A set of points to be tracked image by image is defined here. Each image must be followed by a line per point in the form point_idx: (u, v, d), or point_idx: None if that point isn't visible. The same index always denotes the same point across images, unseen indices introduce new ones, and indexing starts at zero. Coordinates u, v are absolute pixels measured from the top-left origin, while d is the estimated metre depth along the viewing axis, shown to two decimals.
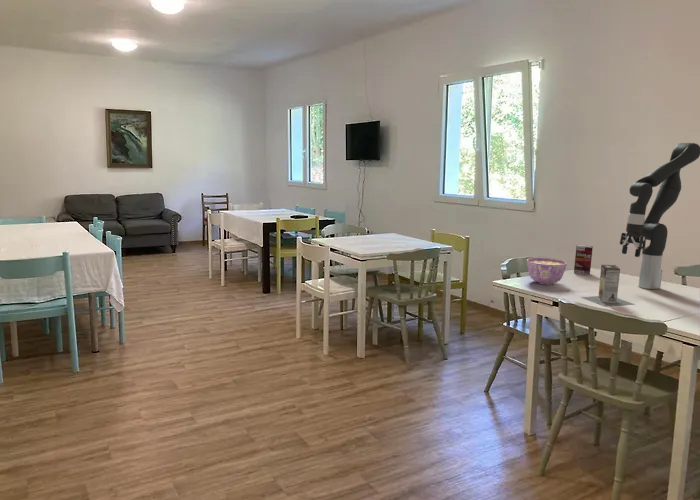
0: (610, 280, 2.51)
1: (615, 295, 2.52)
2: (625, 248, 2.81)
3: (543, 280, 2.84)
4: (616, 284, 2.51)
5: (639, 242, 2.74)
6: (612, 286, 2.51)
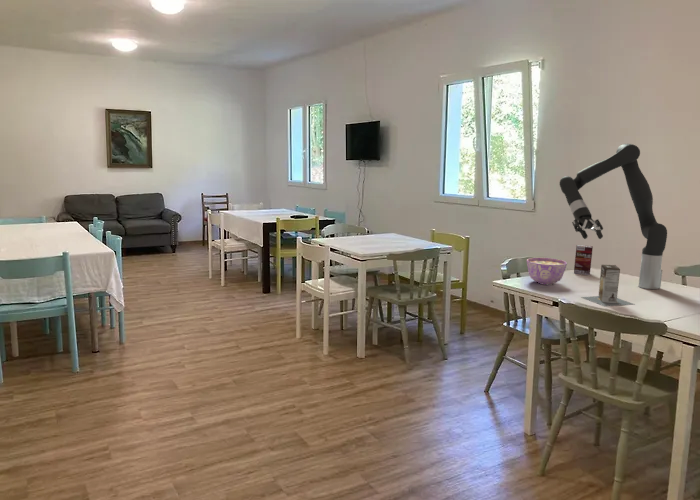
0: (610, 280, 2.51)
1: (615, 295, 2.52)
2: (598, 233, 2.68)
3: (543, 280, 2.84)
4: (616, 284, 2.51)
5: None
6: (612, 286, 2.51)
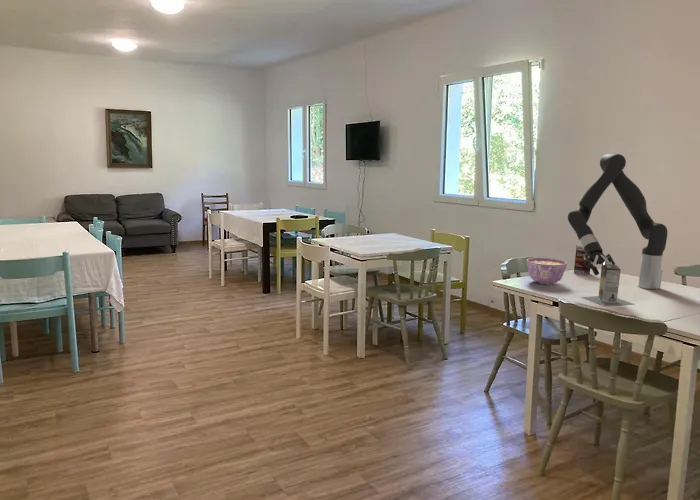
0: (610, 280, 2.50)
1: (615, 295, 2.52)
2: None
3: (543, 280, 2.84)
4: (616, 284, 2.50)
5: None
6: (612, 287, 2.51)
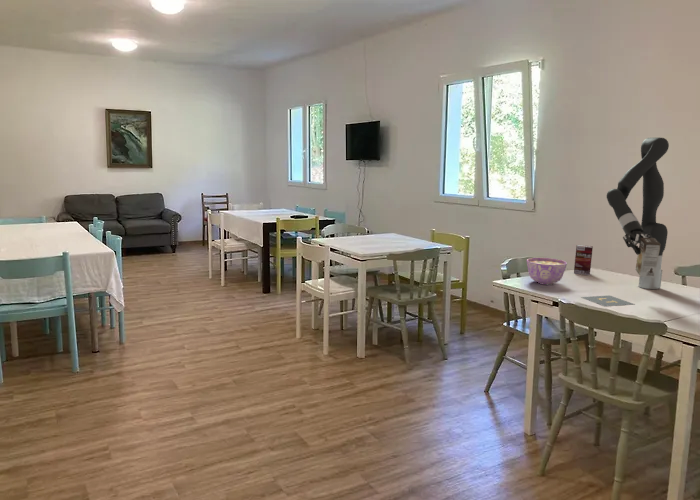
0: (649, 255, 2.48)
1: (654, 270, 2.50)
2: None
3: (543, 280, 2.84)
4: (655, 259, 2.48)
5: (635, 239, 2.56)
6: (651, 261, 2.49)
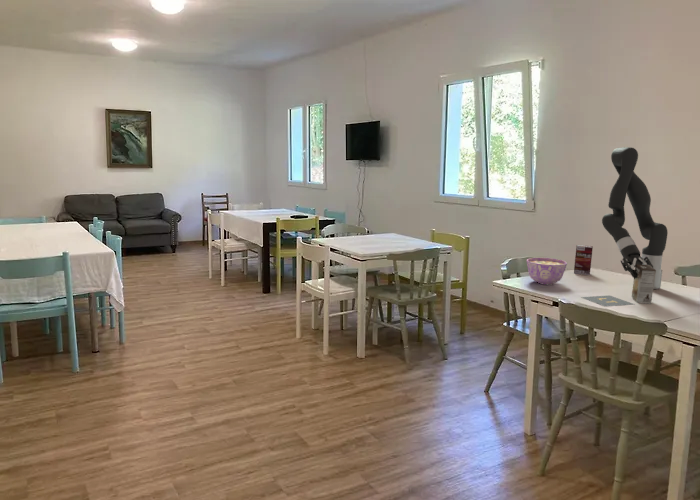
0: (645, 281, 2.51)
1: (650, 296, 2.52)
2: None
3: (543, 280, 2.84)
4: (651, 285, 2.51)
5: None
6: (647, 287, 2.51)
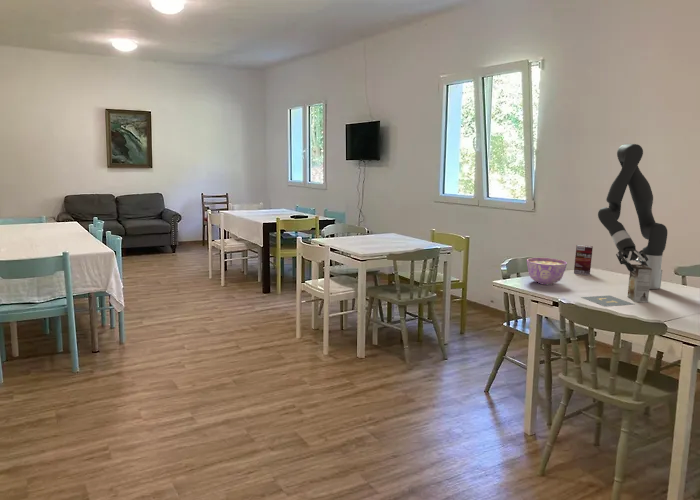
0: (642, 279, 2.53)
1: (647, 294, 2.55)
2: (643, 264, 2.62)
3: (543, 280, 2.84)
4: (648, 283, 2.54)
5: (628, 256, 2.61)
6: (644, 286, 2.54)
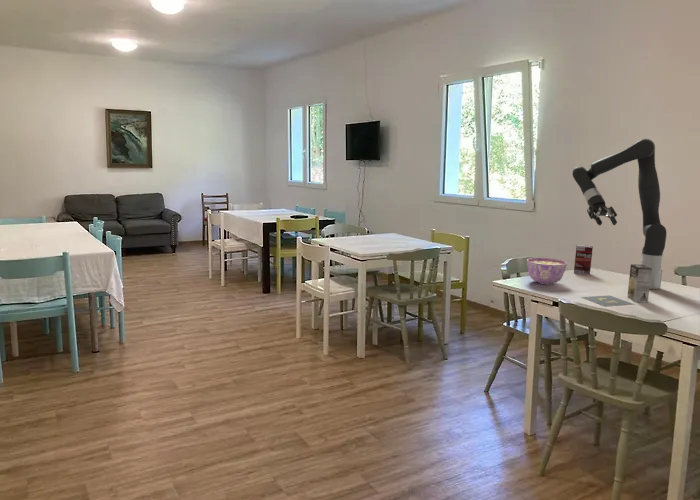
0: (642, 279, 2.53)
1: (647, 294, 2.55)
2: (612, 219, 2.77)
3: (543, 280, 2.84)
4: (648, 283, 2.54)
5: (597, 211, 2.77)
6: (644, 286, 2.54)
